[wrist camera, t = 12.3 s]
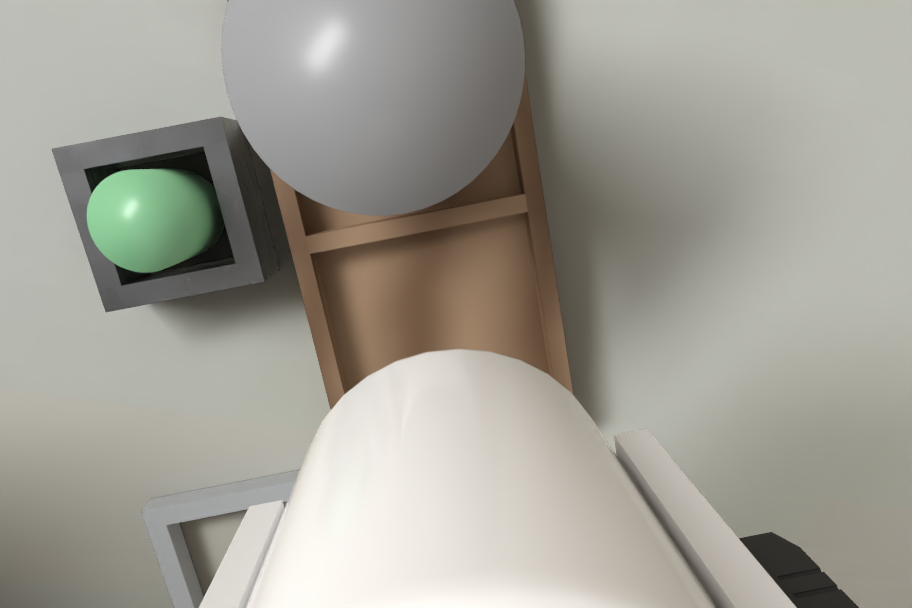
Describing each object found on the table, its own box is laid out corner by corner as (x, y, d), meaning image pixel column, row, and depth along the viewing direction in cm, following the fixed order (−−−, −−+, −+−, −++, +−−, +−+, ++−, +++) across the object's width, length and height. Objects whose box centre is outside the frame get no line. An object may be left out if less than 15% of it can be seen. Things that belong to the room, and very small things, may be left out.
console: (137, 297, 29) (105, 312, 26) (90, 150, 28) (51, 148, 25) (279, 269, 29) (264, 281, 27) (241, 121, 28) (220, 116, 25)
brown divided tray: (350, 452, 32) (346, 471, 30) (236, -8, 27) (222, -22, 25) (568, 409, 32) (577, 425, 30) (497, -57, 27) (502, -74, 25)
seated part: (324, 210, 28) (265, 240, 17) (280, 21, 26) (183, -74, 16) (498, 177, 28) (545, 186, 18) (467, -14, 26) (497, -133, 16)
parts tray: (224, 713, 35) (217, 731, 34) (151, 499, 32) (140, 511, 31) (462, 665, 35) (464, 682, 34) (414, 447, 32) (414, 458, 31)
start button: (149, 264, 28) (105, 281, 24) (122, 177, 27) (72, 180, 23) (234, 248, 28) (204, 262, 24) (210, 160, 27) (175, 160, 23)
